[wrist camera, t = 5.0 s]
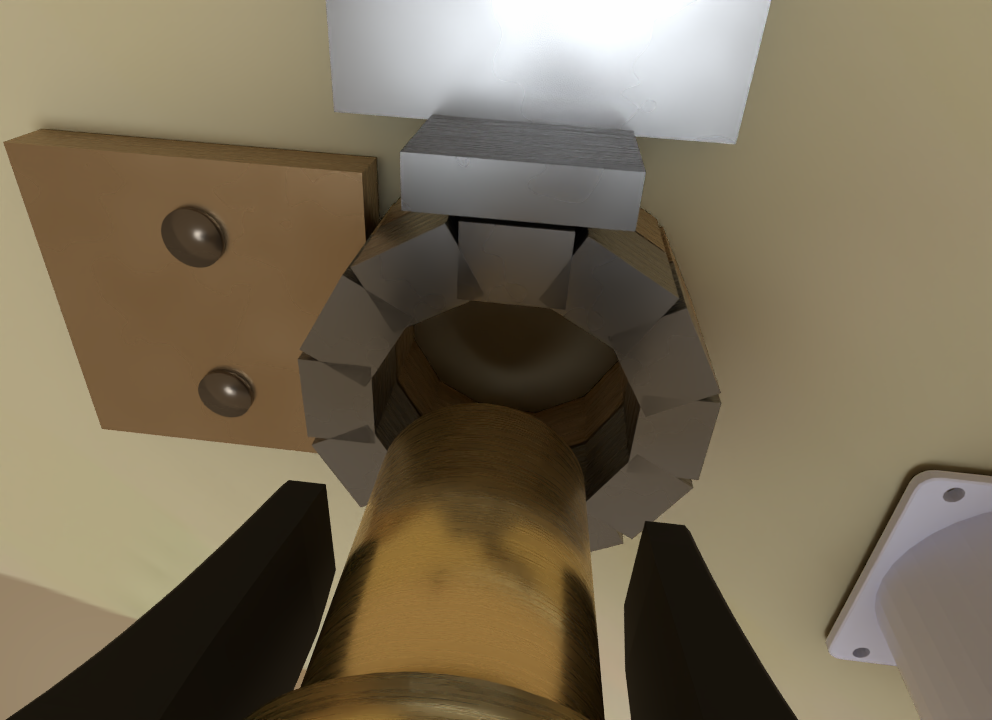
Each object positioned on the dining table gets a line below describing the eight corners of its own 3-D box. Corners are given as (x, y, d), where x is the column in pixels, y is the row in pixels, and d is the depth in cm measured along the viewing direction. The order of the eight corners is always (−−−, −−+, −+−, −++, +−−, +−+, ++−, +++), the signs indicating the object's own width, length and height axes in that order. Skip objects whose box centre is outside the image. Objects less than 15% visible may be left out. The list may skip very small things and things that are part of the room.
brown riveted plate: (722, 177, 14) (740, 206, 13) (652, 467, 19) (659, 515, 17) (38, 120, 15) (-26, 140, 14) (128, 409, 20) (88, 450, 18)
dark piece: (871, -440, 9) (1032, -650, 6) (652, 467, 19) (668, 580, 16) (303, -456, 10) (166, -658, 7) (365, 435, 19) (320, 539, 16)
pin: (638, 389, 12) (753, 843, 5) (595, 599, 14) (637, 1085, 8) (345, 360, 12) (107, 770, 5) (353, 574, 14) (195, 1031, 8)
